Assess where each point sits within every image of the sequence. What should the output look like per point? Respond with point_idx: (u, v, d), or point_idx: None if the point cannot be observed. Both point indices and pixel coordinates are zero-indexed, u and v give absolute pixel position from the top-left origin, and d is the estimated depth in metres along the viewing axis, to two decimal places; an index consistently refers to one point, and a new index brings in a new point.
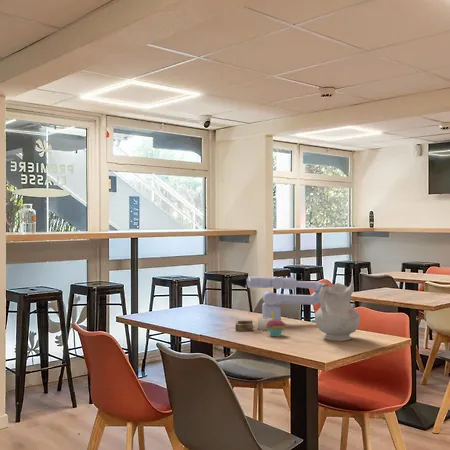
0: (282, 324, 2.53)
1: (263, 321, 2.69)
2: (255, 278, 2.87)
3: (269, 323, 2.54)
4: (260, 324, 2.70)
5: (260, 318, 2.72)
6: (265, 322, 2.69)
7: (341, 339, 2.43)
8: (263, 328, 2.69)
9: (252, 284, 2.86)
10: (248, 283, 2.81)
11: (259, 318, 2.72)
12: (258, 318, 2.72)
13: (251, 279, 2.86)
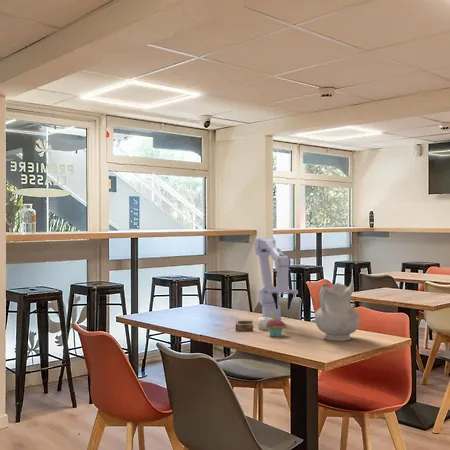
0: (282, 324, 2.53)
1: (263, 321, 2.69)
2: (286, 284, 2.70)
3: (269, 323, 2.54)
4: (260, 324, 2.70)
5: (260, 318, 2.72)
6: (265, 322, 2.69)
7: (341, 339, 2.43)
8: (263, 328, 2.69)
9: None
10: (297, 292, 2.72)
11: (259, 318, 2.72)
12: (258, 318, 2.72)
13: (287, 288, 2.70)
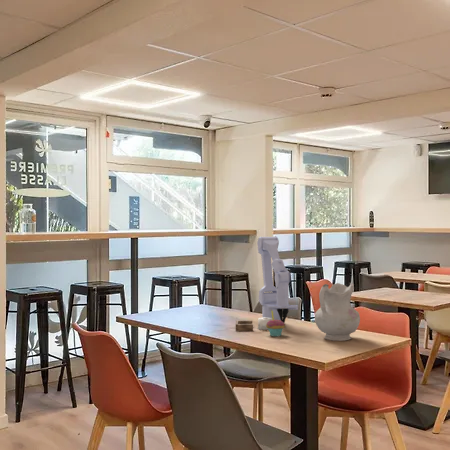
0: (282, 324, 2.53)
1: (263, 321, 2.69)
2: (287, 300, 2.70)
3: (269, 323, 2.54)
4: (260, 324, 2.70)
5: (260, 318, 2.72)
6: (265, 322, 2.69)
7: (341, 339, 2.43)
8: (263, 328, 2.69)
9: None
10: (297, 307, 2.72)
11: (259, 318, 2.72)
12: (258, 318, 2.72)
13: (287, 304, 2.70)
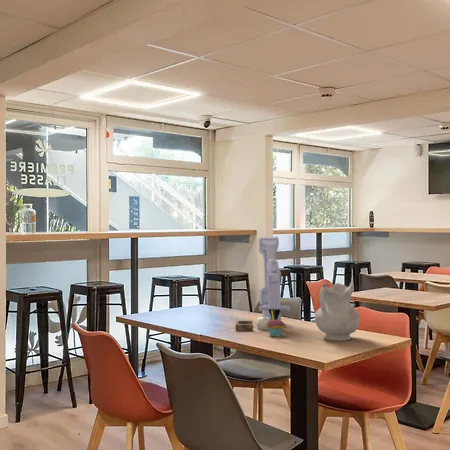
0: (282, 324, 2.53)
1: (262, 321, 2.69)
2: (278, 301, 2.70)
3: (269, 323, 2.54)
4: (259, 324, 2.70)
5: (259, 318, 2.72)
6: (264, 322, 2.69)
7: (341, 339, 2.43)
8: (262, 328, 2.69)
9: None
10: None
11: (258, 318, 2.72)
12: (257, 318, 2.72)
13: (279, 305, 2.71)
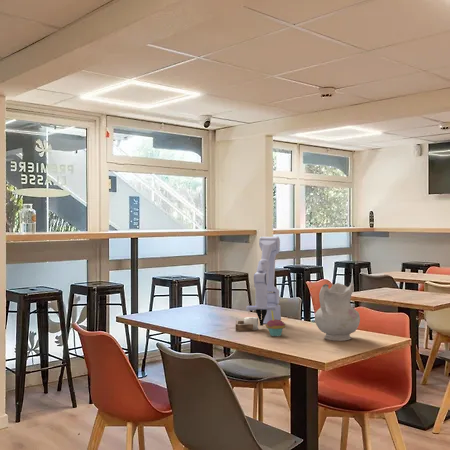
0: (282, 324, 2.53)
1: (249, 321, 2.69)
2: (265, 301, 2.70)
3: (269, 323, 2.54)
4: None
5: (246, 318, 2.73)
6: (251, 322, 2.69)
7: (341, 339, 2.43)
8: None
9: None
10: None
11: (245, 318, 2.73)
12: (244, 318, 2.73)
13: (266, 305, 2.71)
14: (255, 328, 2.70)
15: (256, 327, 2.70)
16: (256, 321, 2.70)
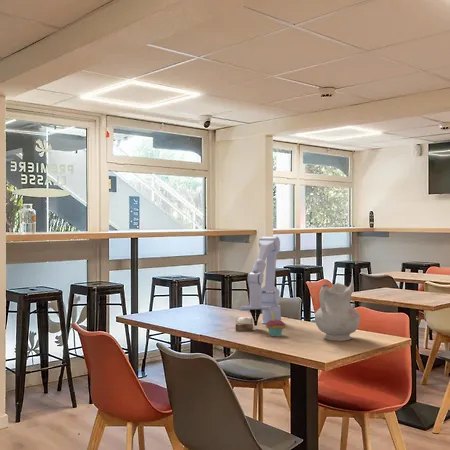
0: (282, 324, 2.53)
1: (243, 321, 2.69)
2: (259, 301, 2.70)
3: (269, 323, 2.54)
4: None
5: (240, 318, 2.73)
6: (245, 322, 2.69)
7: (341, 339, 2.43)
8: None
9: None
10: (270, 308, 2.72)
11: (239, 318, 2.73)
12: (238, 318, 2.73)
13: (260, 305, 2.71)
14: None
15: None
16: (250, 321, 2.70)
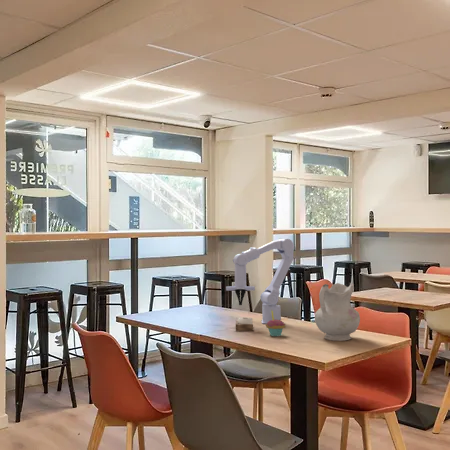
0: (282, 324, 2.53)
1: (243, 321, 2.69)
2: (244, 281, 2.82)
3: (269, 323, 2.54)
4: None
5: (240, 318, 2.73)
6: (245, 322, 2.69)
7: (341, 339, 2.43)
8: None
9: None
10: (254, 288, 2.84)
11: (239, 318, 2.73)
12: (238, 318, 2.73)
13: (245, 285, 2.83)
14: None
15: None
16: (250, 321, 2.70)
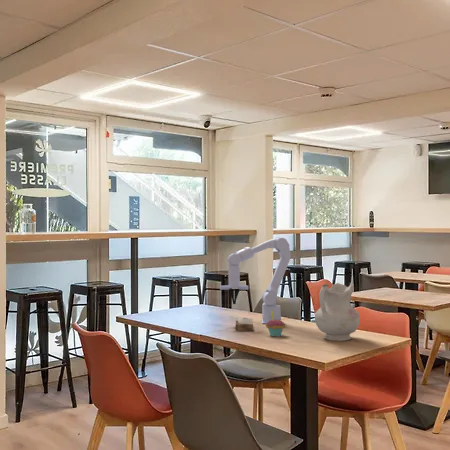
0: (282, 324, 2.53)
1: (243, 321, 2.69)
2: (237, 280, 2.85)
3: (269, 323, 2.54)
4: None
5: (240, 318, 2.73)
6: (245, 322, 2.69)
7: (341, 339, 2.43)
8: None
9: None
10: None
11: (239, 318, 2.73)
12: (238, 318, 2.73)
13: (238, 284, 2.86)
14: None
15: None
16: (250, 321, 2.70)
